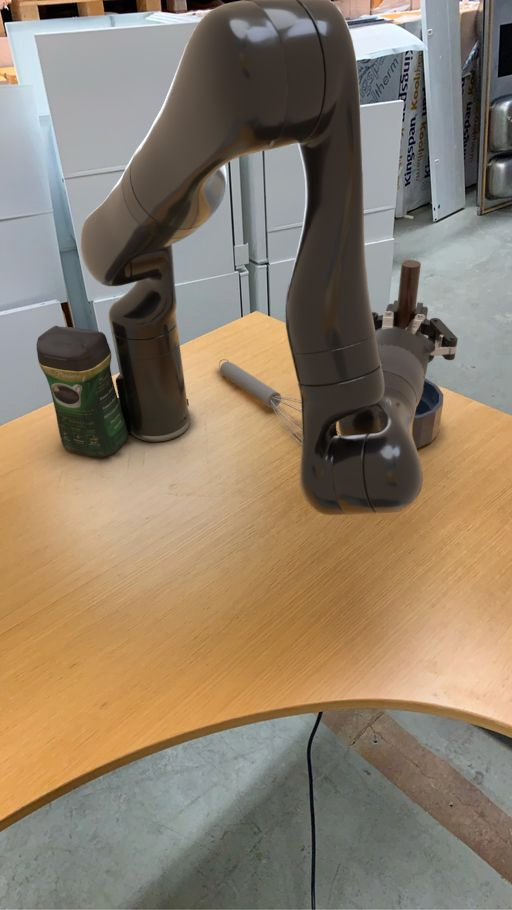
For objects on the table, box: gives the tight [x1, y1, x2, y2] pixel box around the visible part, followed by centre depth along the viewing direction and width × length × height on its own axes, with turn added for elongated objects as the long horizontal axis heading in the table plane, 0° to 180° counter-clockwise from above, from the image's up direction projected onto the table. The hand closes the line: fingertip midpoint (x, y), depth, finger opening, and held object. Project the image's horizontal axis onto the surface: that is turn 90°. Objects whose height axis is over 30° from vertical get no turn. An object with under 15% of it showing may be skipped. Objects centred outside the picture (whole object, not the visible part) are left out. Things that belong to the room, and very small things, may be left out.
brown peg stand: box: [395, 259, 422, 328], centre depth 81 cm, size 5×5×17 cm
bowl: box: [412, 377, 444, 449], centre depth 97 cm, size 12×12×6 cm
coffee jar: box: [36, 325, 129, 458], centre depth 94 cm, size 10×8×19 cm
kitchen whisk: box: [218, 359, 341, 445], centre depth 102 cm, size 6×34×6 cm, turn 34°
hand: (407, 308), depth 82 cm, fingers closed on brown peg stand
